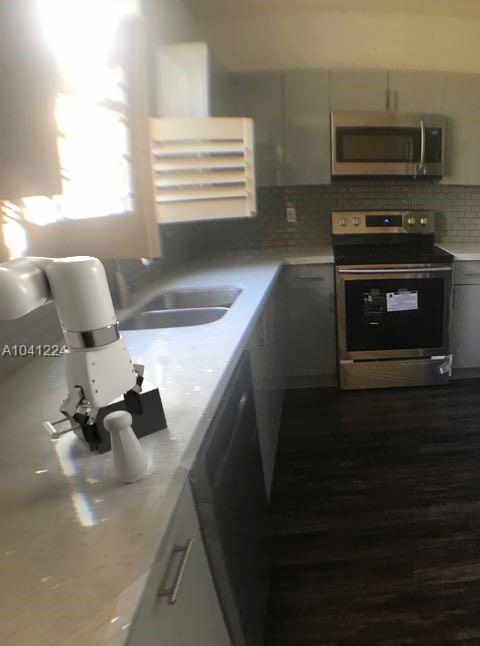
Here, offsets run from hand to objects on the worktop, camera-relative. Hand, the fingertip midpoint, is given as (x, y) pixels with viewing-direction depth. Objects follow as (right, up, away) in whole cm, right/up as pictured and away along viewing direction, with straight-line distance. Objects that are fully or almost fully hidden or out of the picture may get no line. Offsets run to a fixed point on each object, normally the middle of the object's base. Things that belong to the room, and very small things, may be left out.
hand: (116, 427), depth 80 cm
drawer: (-13, -4, +16) cm, 21 cm away
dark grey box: (-10, -4, +19) cm, 22 cm away
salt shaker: (+1, -10, +4) cm, 11 cm away
